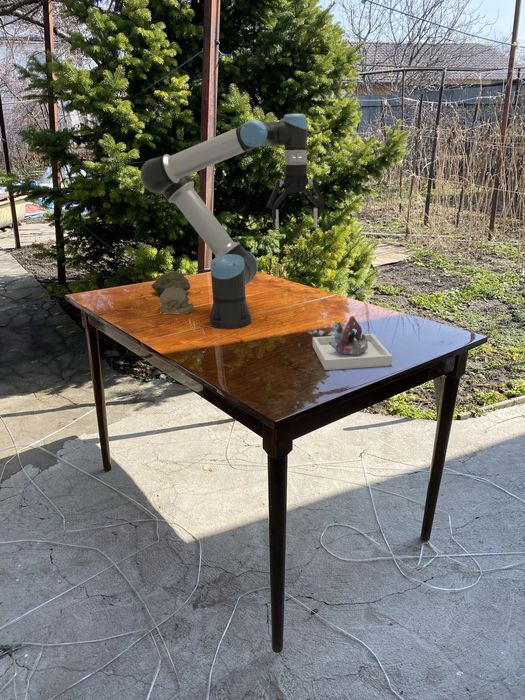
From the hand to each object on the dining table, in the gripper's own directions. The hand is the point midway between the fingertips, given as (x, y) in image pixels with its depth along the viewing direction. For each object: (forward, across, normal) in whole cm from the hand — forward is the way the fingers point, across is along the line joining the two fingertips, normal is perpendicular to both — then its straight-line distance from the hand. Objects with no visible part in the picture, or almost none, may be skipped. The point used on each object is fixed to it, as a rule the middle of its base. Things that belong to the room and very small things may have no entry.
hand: (296, 228), depth 185 cm
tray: (+32, +9, -44) cm, 55 cm away
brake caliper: (+31, +9, -42) cm, 53 cm away
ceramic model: (+32, -46, +14) cm, 58 cm away
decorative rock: (+32, -49, +41) cm, 71 cm away
